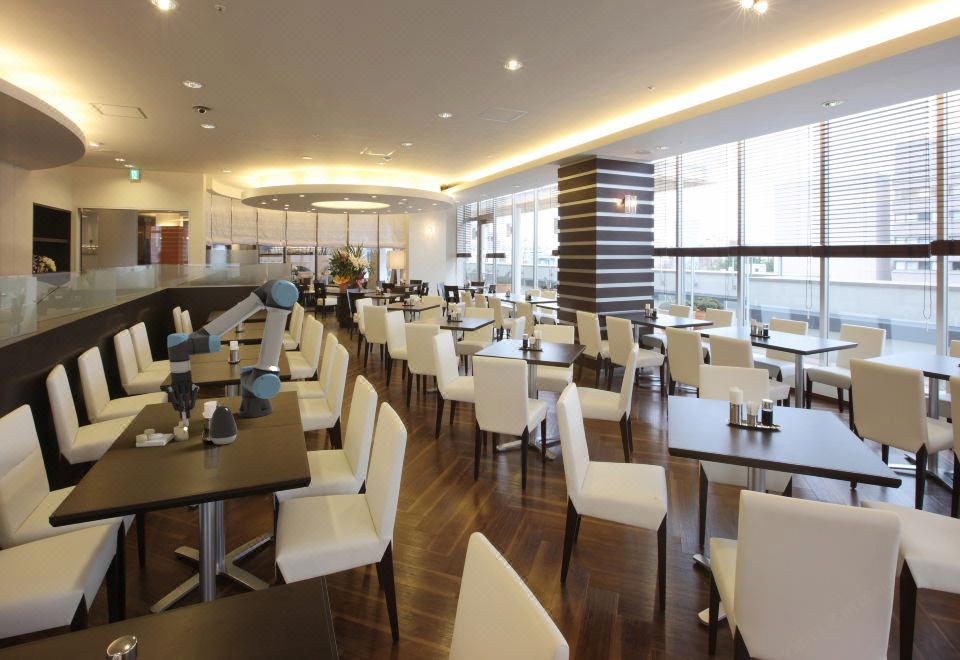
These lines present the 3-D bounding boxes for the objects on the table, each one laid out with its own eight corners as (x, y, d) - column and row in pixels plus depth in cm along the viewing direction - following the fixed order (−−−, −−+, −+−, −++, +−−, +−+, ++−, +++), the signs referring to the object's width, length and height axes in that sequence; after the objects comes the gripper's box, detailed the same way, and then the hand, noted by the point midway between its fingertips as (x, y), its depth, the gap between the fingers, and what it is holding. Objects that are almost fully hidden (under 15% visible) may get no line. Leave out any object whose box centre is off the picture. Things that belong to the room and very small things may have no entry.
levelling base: (177, 435, 226) (177, 425, 225) (163, 446, 212) (162, 436, 211) (151, 436, 224) (150, 426, 224) (135, 448, 210) (134, 437, 210)
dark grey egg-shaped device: (232, 436, 224) (229, 401, 222) (242, 442, 216) (239, 405, 214) (206, 442, 217) (203, 405, 215) (215, 449, 209) (212, 411, 207)
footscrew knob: (188, 439, 219) (187, 427, 218) (174, 441, 216) (173, 429, 216) (189, 431, 229) (188, 420, 229) (175, 433, 227) (174, 421, 226)
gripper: (200, 368, 228) (205, 422, 231) (167, 370, 226) (173, 424, 229) (193, 371, 221) (199, 427, 224) (160, 373, 219) (166, 430, 222)
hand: (186, 426), depth 226 cm, fingers closed
